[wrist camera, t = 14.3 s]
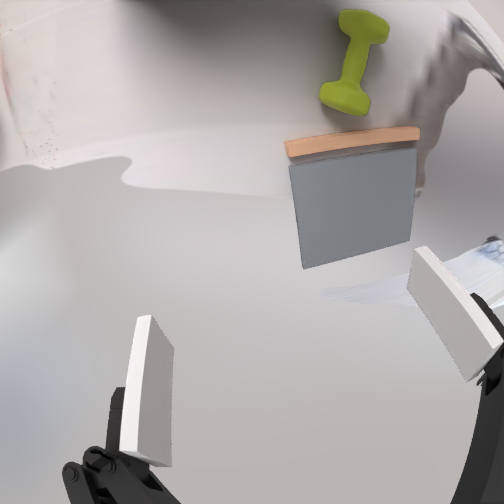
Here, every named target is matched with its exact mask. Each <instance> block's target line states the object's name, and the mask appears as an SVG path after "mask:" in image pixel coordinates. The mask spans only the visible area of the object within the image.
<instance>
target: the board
mask: <svg viewBox="0 0 504 504" xmlns="http://www.w3.org/2000/svg"><path fill="white" fill-rule="evenodd" d="M416 166H417V149H416V148H414V147H408V148H399V149H390V150H382V151H375V152H367V153H360V154H354V155H347V156H341V157H335V158H329V159H323V160H317V161H312V162H306V163H301V164H296V165H291V166H289V172H290V179H291V185H292V192H293V199H294V206H295V212H296V220H297V228H298V235H299V244H300V252H301V261H302V267H303V269H307V268H311V267H315V266H319V265H322V264H326V263H330V262H334V261H338V260H342V259H346V258H349V257H353V256H356V255H360V254H364V253H368V252H371V251H375V250H378V249H382V248H386V247H389V246H393V245H396V244H399V243H403V242H406V241H409V240H410V232H411V225H412V217H413V208H414V197H415V184H416Z"/></svg>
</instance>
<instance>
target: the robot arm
mask: <svg viewBox="0 0 504 504" xmlns="http://www.w3.org/2000/svg"><path fill="white" fill-rule="evenodd" d="M407 290H408V291H409V292H410V294H411V295H412V297H413V298H414V300H415V301H416V302H417V304H418V305H419V307H420V308H421V310H422V311H423V313H424V314H425V315H426V317H427V318H428V320H429V321H430V323H431V325H432V326H433V328H434V329H435V330H436V332H437V334H438V335H439V337H440V338H441V340H442V342H443V343H444V345H445V347H446V348H447V349H448V351H449V353H450V355H451V357H452V358H453V359H454V362H455V363H456V365H457V367H458V369H459V370H460V372H461V374H462V376H463V377H464V379H465V381H466V382H469V381H470V380H472V379H473V378H475V377H476V376H478V375H479V373H480V372H481V371H482V370H483V369H484V371H485V373H484V374H483V375H482V376H481V378H480V379H479V380H478V382H477V385H479V384H480V383H481V382H482V381H483V382H482V384H481V386H482V390H481V397H480V403H479V409H478V415H477V420H476V425H475V429H474V434H473V438H472V442H471V446H470V449H469V453H468V456H467V460H466V463H465V466H464V470H463V472H462V475H461V478H460V481H459V483H458V486H457V489H456V491H455V494H454V496H453V499H452V501H451V503H450V504H504V326H503V325H502V323H501V322H500V320H499V319H498V318H497V317H496V315H495V314H493V311H492V310H491V309H490V308H489V307H488V305H487V303H486V302H485V301H484V300H483V299H482V298H481V297H480V296H478V295H477V294H475V293H472V294H470V295H469V293H468V292H467V291H466V290H465V288H464V287H463V286H462V285H461V284H460V282H459V281H458V280H457V279H456V278H455V277H454V276H453V274H452V273H451V272H450V271H449V270H448V269H447V268H446V266H445V265H444V264H443V263H442V262H441V261H440V260H439V259H438V258H437V257H436V256H435V255H434V254H433V253H432V251H431V250H430V249H429V248H428V247H427V246H426V245H425V246H422V247H419V248H415V249H414V255H413V260H412V265H411V270H410V275H409V279H408V284H407ZM173 355H174V347H173V346H172V344H171V343H170V342H169V340H168V339H167V337H166V336H165V334H164V333H163V331H162V330H161V329H160V327H159V325H158V324H157V322H156V321H155V319H154V317H153V316H152V315H147V316H141V317H138V319H137V323H136V329H135V333H134V339H133V344H132V350H131V356H130V361H129V368H128V374H127V381H126V387H118V388H116V390H115V392H114V394H113V396H112V398H111V405H110V412H109V420H108V429H107V438H106V448H105V449H103V448H101V447H98V446H92V447H90V448H88V449H87V450H86V451H85V453H84V456H83V464H82V465H80V464H78V463H75V462H68V463H67V464H65V466H64V467H63V471H62V476H63V481H64V484H65V487H66V490H67V494H68V497H69V499H70V502H71V504H181V503H180V502H179V501H178V500H177V499H176V498H175V497H174V496H173V495H172V494H171V493H170V492H169V491H168V489H167V488H166V487H165V486H164V485H163V484H162V483H161V482H160V481H159V479H158V478H157V477H156V476H155V475H154V474H153V472H152V471H150V470H149V464H150V465H153V466H155V467H172V455H171V406H172V376H173V375H172V373H173Z"/></svg>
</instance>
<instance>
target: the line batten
mask: <svg viewBox="0 0 504 504" xmlns="http://www.w3.org/2000/svg"><path fill="white" fill-rule="evenodd" d="M408 140H420V129H419V128H417V127H414V126H406V127H391V128H379V129H369V130H359V131H350V132H342V133H335V134H328V135H321V136H315V137H308V138H302V139H297V140H291V141H286V142H285V148H286V154H287V155H288V156H289V157H295V156H300V155H306V154H311V153H317V152H323V151H329V150H335V149H342V148H348V147H355V146H363V145H371V144H379V143H388V142H398V141H408Z"/></svg>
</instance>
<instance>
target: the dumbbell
mask: <svg viewBox="0 0 504 504" xmlns="http://www.w3.org/2000/svg"><path fill="white" fill-rule="evenodd" d="M338 22H339V27H340V29H341V31H342V32H343V33H345V34H346V35H348V36H350V43H349V45H348V48H347V51H346V55H345V58H344V63H343V67H342V74H341V78H340V79H339V80H338V81H330V82H325V83H323V85H322V86H321V88H320V92H319V100H320V101H321V102H322V103H323V104H325V105H327V106H329V107H331V108H333V109H335V110H338V111H341V112H344V113H347V114H350V115H355V116H365V115H366V114H367V113H368V111H369V108H370V103H371V101H370V98H369V96H368V95H367V94H366V93H365V92H364V91H363V90H362V89H361V87H360V82H361V80H362V77H363V75H364V71H365V68H366V64H367V60H368V55H369V47H370V45H371V44H382V43H385V42H386V40H387V38H388V35H389V29H390V27H389V24H388V23H387V22H386V21H385V20H384V19H382V18H380V17H379V16H377V15H375V14H373V13H371V12H368V11H365V10H358V9H344V10H342V11H341V12H340V15H339V20H338Z"/></svg>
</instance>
